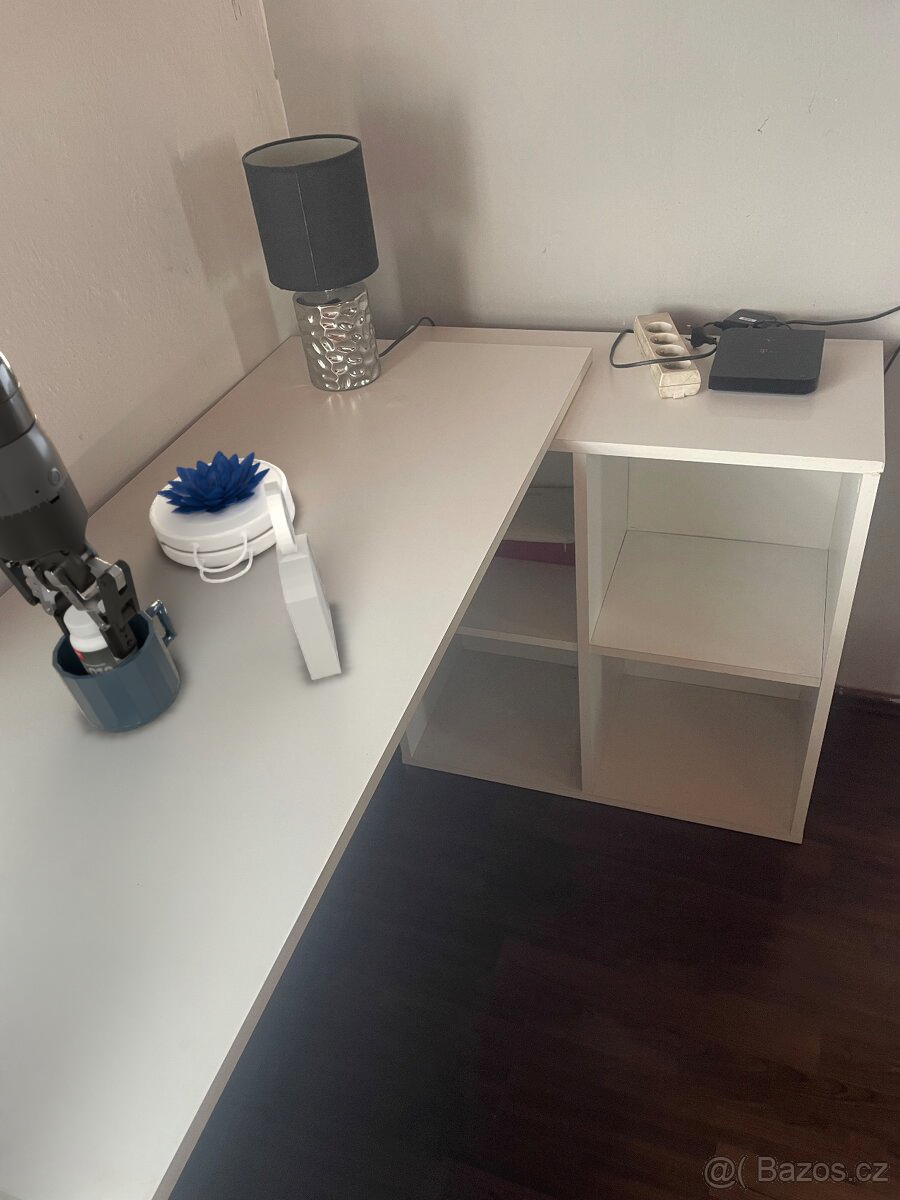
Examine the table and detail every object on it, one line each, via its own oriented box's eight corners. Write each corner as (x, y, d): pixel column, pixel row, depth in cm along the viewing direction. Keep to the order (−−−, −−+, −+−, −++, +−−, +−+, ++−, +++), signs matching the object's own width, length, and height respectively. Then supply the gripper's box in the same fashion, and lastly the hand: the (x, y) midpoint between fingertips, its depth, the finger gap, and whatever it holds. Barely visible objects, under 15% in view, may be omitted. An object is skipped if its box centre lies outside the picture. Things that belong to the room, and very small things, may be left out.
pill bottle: (86, 692, 78) (45, 624, 73) (119, 656, 81) (82, 589, 76) (127, 702, 77) (89, 634, 71) (159, 665, 80) (124, 596, 74)
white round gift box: (146, 454, 101) (128, 556, 86) (278, 427, 101) (283, 523, 86) (167, 502, 105) (152, 607, 90) (293, 476, 106) (299, 575, 91)
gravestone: (329, 608, 86) (282, 453, 74) (341, 672, 79) (291, 513, 67) (302, 614, 86) (251, 461, 74) (312, 680, 79) (257, 522, 67)
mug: (137, 743, 76) (105, 689, 71) (64, 718, 80) (30, 665, 75) (216, 653, 83) (192, 599, 79) (147, 634, 87) (120, 581, 82)
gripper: (-87, 498, 66) (16, 656, 77) (46, 528, 60) (137, 695, 71) (-11, 446, 70) (76, 602, 82) (119, 470, 65) (194, 634, 76)
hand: (104, 644), depth 76 cm, fingers closed on pill bottle, 4 cm apart
